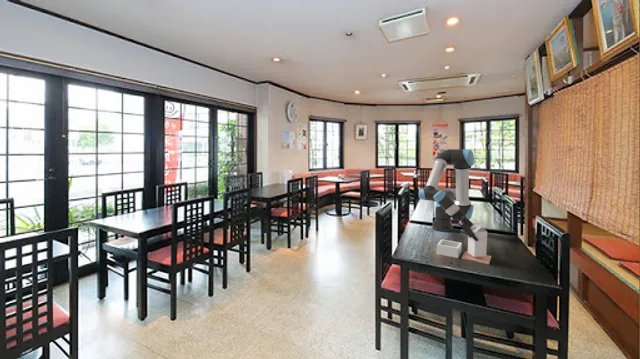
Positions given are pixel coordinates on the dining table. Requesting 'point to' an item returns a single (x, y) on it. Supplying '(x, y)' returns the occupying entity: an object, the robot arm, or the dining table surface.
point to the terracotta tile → (476, 258)
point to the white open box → (449, 248)
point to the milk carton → (473, 246)
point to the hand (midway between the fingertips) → (483, 242)
